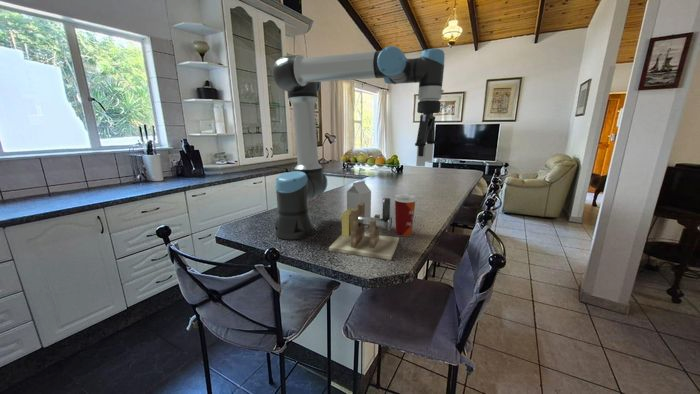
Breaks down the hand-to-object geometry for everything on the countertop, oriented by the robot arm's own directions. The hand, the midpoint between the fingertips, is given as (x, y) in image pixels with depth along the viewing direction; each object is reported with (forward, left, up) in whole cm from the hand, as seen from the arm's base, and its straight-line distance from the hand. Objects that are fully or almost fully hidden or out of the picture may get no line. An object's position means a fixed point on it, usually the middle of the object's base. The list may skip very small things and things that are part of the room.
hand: (424, 163), depth 98 cm
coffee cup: (-6, +1, -28) cm, 29 cm away
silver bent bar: (-17, -15, -21) cm, 31 cm away
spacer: (-23, -15, -20) cm, 34 cm away
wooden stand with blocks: (-17, -15, -28) cm, 36 cm away
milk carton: (-25, +3, -28) cm, 38 cm away
